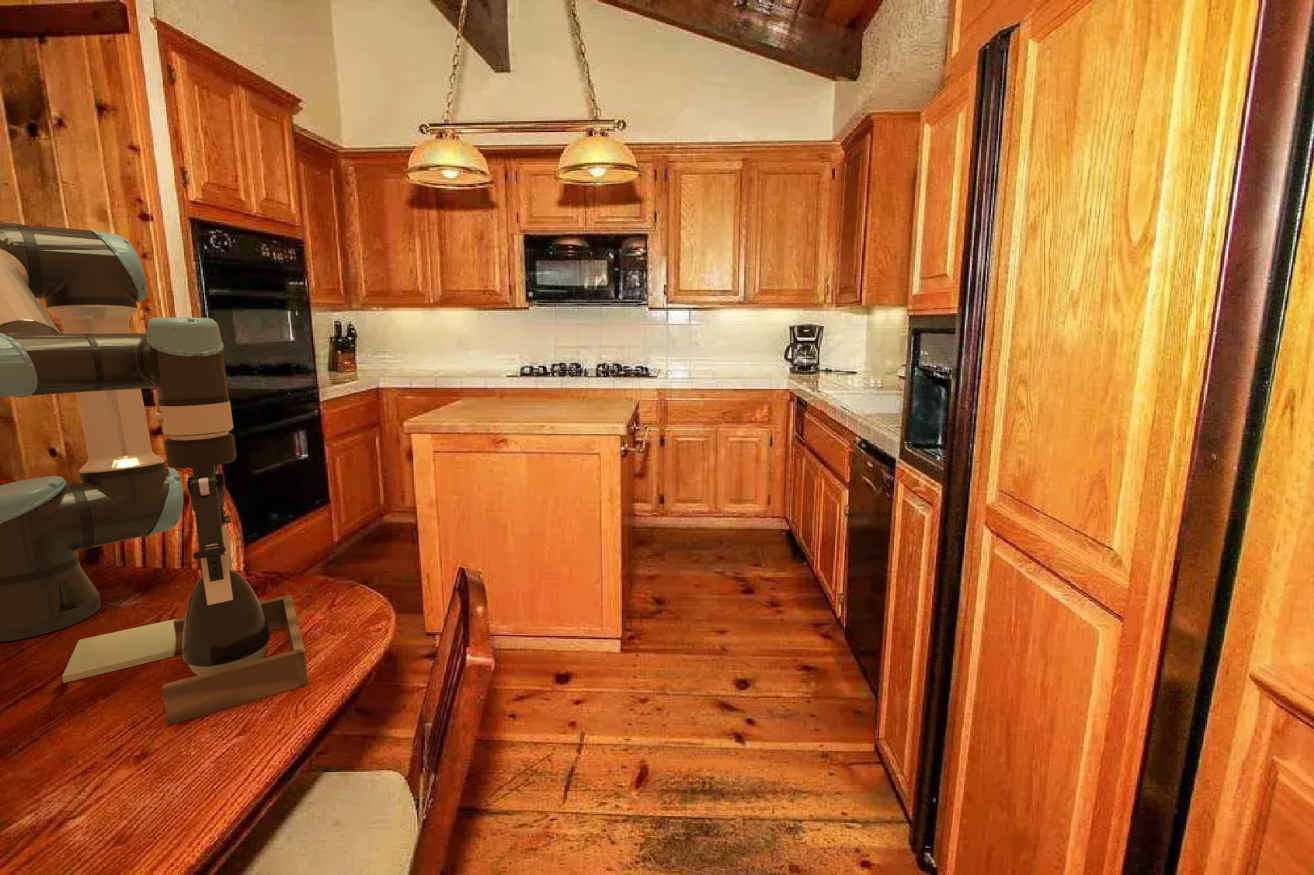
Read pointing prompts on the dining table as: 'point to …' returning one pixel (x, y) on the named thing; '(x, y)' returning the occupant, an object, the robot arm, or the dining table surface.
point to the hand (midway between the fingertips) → (220, 584)
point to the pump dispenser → (224, 628)
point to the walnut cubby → (241, 672)
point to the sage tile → (121, 650)
